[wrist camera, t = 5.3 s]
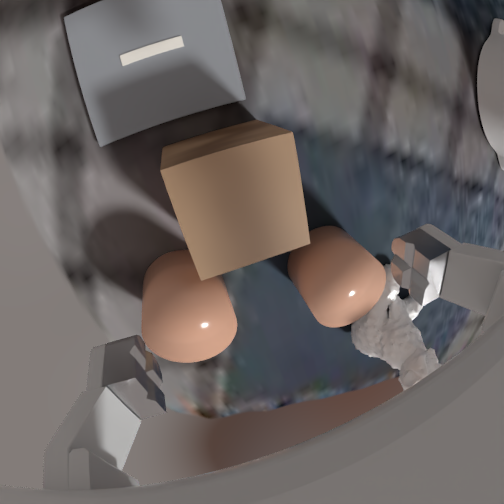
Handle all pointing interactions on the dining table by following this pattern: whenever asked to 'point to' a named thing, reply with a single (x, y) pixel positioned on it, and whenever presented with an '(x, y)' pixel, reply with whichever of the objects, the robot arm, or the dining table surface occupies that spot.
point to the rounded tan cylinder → (336, 276)
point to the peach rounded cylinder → (185, 310)
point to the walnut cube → (236, 195)
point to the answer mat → (151, 62)
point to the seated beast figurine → (395, 335)
